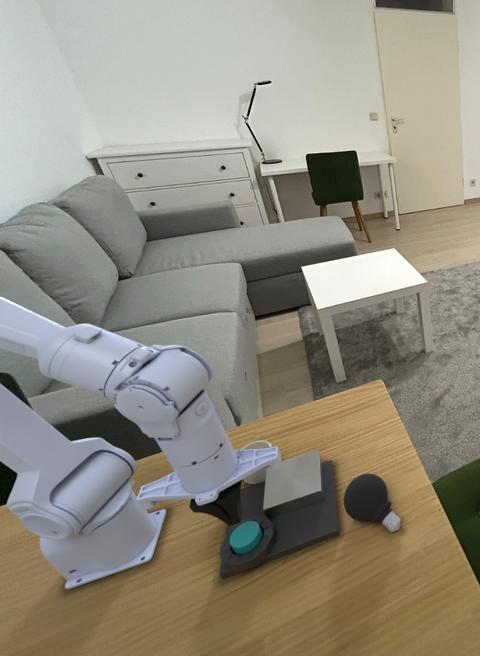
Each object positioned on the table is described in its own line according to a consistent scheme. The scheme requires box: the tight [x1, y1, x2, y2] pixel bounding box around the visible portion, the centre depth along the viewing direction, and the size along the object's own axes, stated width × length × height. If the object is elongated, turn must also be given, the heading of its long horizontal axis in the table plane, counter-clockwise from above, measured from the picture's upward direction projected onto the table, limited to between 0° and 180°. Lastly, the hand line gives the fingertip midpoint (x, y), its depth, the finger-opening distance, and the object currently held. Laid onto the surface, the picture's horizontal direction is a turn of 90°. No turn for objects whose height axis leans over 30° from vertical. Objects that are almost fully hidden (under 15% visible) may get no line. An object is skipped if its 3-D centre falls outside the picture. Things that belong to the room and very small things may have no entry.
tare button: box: [230, 521, 262, 554], centre depth 53 cm, size 4×4×2 cm
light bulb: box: [343, 473, 402, 534], centre depth 58 cm, size 6×6×10 cm
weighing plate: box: [263, 449, 325, 520], centre depth 62 cm, size 8×8×4 cm
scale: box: [219, 459, 340, 580], centre depth 59 cm, size 15×14×3 cm
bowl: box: [240, 440, 273, 485], centre depth 65 cm, size 5×5×4 cm
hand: (235, 517), depth 51 cm, fingers closed
